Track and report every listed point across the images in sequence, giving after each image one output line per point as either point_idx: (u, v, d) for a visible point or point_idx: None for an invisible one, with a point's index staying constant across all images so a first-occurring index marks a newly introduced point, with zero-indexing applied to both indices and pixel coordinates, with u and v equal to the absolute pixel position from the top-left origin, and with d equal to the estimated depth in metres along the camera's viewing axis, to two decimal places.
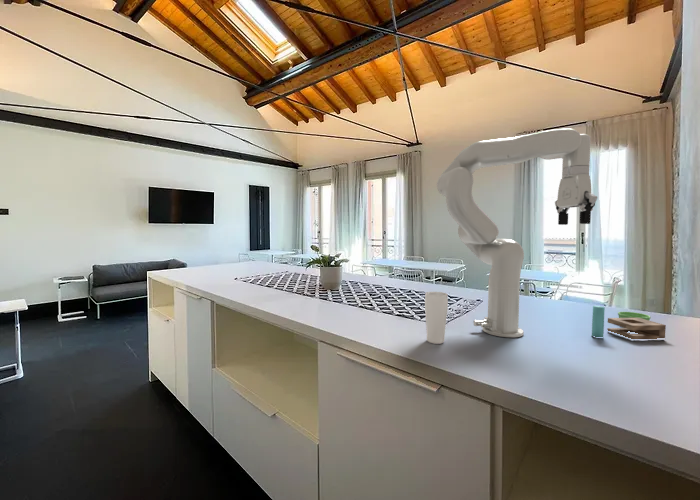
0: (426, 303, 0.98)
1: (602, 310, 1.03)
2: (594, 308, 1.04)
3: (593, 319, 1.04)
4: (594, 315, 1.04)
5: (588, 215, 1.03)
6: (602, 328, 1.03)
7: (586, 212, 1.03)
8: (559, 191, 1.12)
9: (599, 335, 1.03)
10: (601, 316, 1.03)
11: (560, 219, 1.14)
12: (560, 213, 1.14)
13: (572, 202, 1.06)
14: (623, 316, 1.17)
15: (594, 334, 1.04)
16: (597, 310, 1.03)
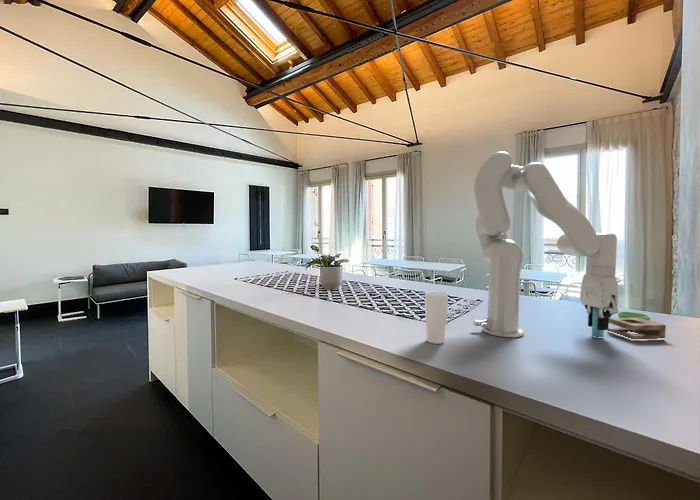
0: (426, 303, 0.98)
1: None
2: (594, 308, 1.04)
3: (593, 319, 1.04)
4: (594, 315, 1.04)
5: (606, 322, 1.01)
6: None
7: (604, 319, 1.01)
8: (582, 287, 1.07)
9: (599, 335, 1.03)
10: None
11: (590, 321, 1.06)
12: (590, 314, 1.06)
13: (597, 304, 1.01)
14: (623, 316, 1.17)
15: (594, 334, 1.04)
16: (597, 310, 1.03)
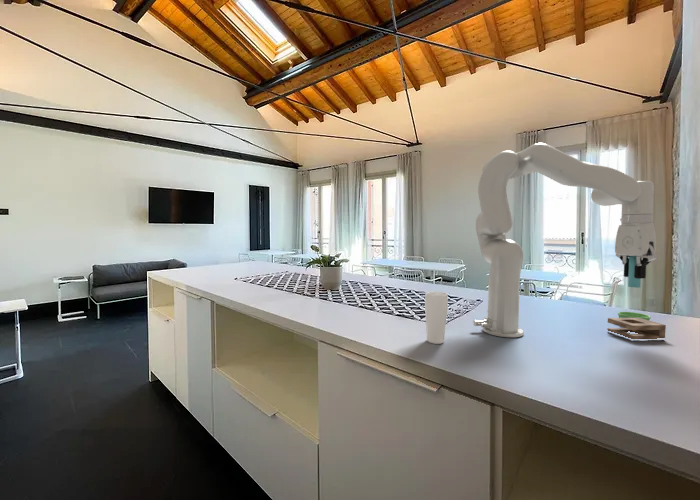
0: (426, 303, 0.98)
1: None
2: (631, 257, 1.04)
3: (630, 268, 1.04)
4: (631, 264, 1.04)
5: (644, 270, 1.01)
6: None
7: (642, 267, 1.01)
8: (617, 238, 1.07)
9: (636, 284, 1.03)
10: None
11: (626, 271, 1.06)
12: (626, 265, 1.06)
13: (635, 252, 1.01)
14: (623, 316, 1.17)
15: (631, 283, 1.04)
16: (634, 259, 1.03)
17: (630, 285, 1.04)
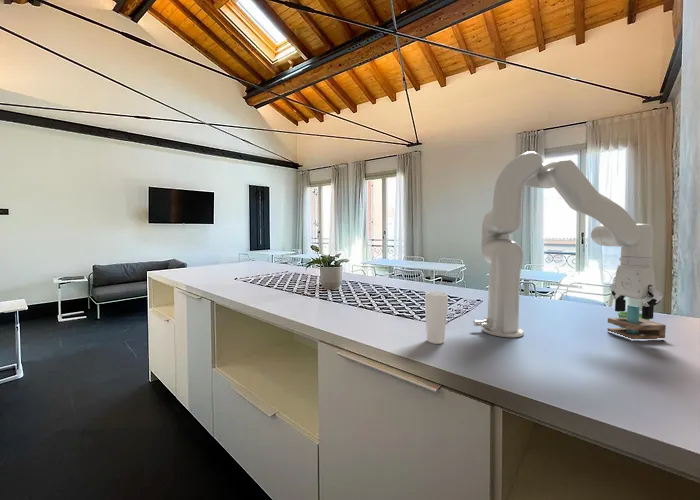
0: (426, 303, 0.98)
1: (637, 309, 1.03)
2: (629, 308, 1.05)
3: (628, 318, 1.05)
4: (629, 314, 1.05)
5: (651, 311, 0.99)
6: None
7: (649, 308, 0.99)
8: (617, 278, 1.08)
9: None
10: (636, 315, 1.04)
11: (617, 306, 1.09)
12: (617, 300, 1.09)
13: (634, 294, 1.02)
14: (623, 316, 1.17)
15: None
16: (632, 309, 1.04)
17: None
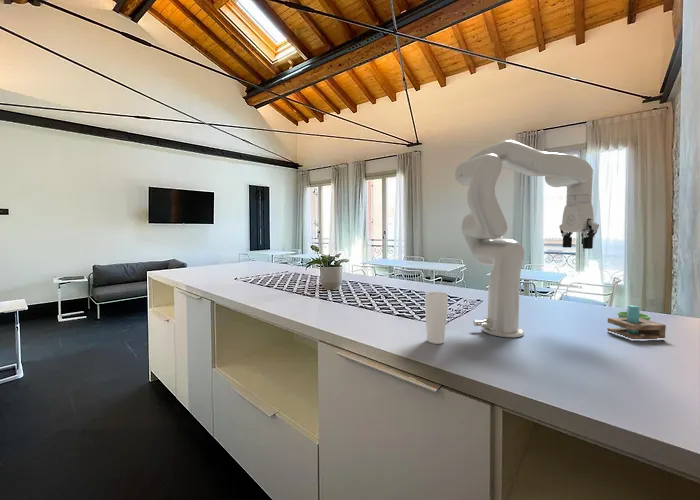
0: (426, 303, 0.98)
1: (637, 310, 1.03)
2: (629, 308, 1.05)
3: (628, 318, 1.05)
4: (629, 314, 1.05)
5: (590, 241, 1.12)
6: None
7: (589, 238, 1.12)
8: (563, 217, 1.21)
9: None
10: (636, 315, 1.04)
11: (564, 242, 1.23)
12: (564, 237, 1.23)
13: (576, 228, 1.15)
14: (623, 316, 1.17)
15: None
16: (632, 310, 1.04)
17: None
